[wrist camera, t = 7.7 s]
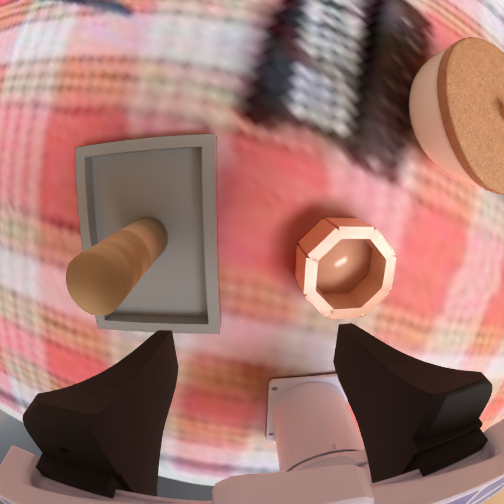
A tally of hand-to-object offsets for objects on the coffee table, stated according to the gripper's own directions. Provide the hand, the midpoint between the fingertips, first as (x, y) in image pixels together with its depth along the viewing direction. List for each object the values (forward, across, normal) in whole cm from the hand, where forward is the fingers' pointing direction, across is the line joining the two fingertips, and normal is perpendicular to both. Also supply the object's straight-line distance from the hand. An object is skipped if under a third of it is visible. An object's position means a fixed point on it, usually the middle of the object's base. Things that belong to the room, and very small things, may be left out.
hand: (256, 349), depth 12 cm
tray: (+10, +7, -3) cm, 13 cm away
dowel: (+10, +7, -3) cm, 12 cm away
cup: (+10, -7, 0) cm, 12 cm away
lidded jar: (+10, -16, -12) cm, 23 cm away
